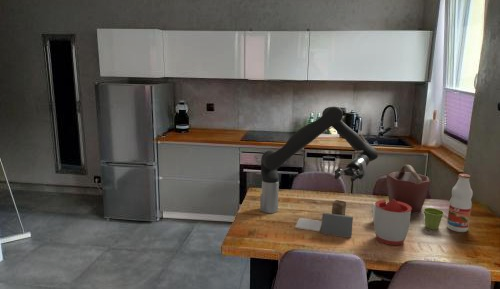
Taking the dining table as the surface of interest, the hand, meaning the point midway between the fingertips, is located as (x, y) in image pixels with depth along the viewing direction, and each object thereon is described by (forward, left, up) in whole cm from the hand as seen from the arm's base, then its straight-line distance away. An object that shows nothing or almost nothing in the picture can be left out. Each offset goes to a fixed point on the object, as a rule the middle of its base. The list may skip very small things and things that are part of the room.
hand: (343, 178), depth 184 cm
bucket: (+33, +36, -24) cm, 55 cm away
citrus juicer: (+23, -11, -24) cm, 35 cm away
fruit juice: (+56, +14, -24) cm, 63 cm away
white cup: (+19, +8, -24) cm, 32 cm away
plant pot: (+44, +11, -24) cm, 52 cm away
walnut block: (-1, -8, -24) cm, 25 cm away
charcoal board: (-1, -15, -24) cm, 28 cm away
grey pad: (-15, -8, -24) cm, 29 cm away
